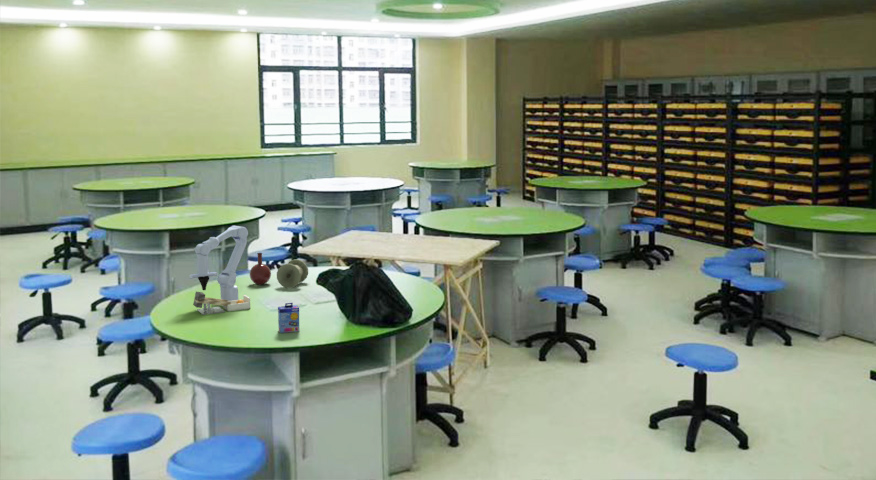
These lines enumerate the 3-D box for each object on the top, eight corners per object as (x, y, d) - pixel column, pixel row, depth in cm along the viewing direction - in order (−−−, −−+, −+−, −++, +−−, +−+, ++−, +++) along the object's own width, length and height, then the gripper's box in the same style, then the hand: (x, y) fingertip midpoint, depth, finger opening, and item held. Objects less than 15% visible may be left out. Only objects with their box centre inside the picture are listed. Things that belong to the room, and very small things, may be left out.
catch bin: (245, 305, 425) (244, 294, 424) (250, 308, 417) (249, 297, 416) (223, 307, 419) (222, 297, 418) (227, 311, 410) (227, 300, 409)
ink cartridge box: (280, 333, 368) (279, 304, 365) (277, 330, 373) (277, 301, 371) (300, 331, 371) (299, 302, 369) (297, 328, 376) (297, 300, 374)
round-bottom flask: (268, 286, 472) (267, 255, 469) (247, 286, 473) (246, 255, 470) (273, 282, 485) (272, 251, 482) (253, 282, 486) (251, 251, 483)
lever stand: (219, 307, 419) (218, 297, 418) (224, 312, 408) (224, 302, 408) (196, 310, 412) (196, 300, 412) (202, 315, 402) (201, 304, 401)
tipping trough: (196, 307, 403) (198, 293, 403) (190, 302, 413) (193, 289, 412) (229, 311, 412) (231, 297, 412) (223, 306, 422) (226, 293, 422)
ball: (237, 298, 419) (234, 305, 419) (239, 299, 416) (236, 306, 415) (243, 300, 421) (241, 306, 421) (245, 301, 418) (243, 308, 418)
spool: (285, 282, 487) (285, 259, 484) (308, 282, 485) (307, 259, 482) (277, 287, 470) (276, 263, 468) (300, 288, 468) (299, 264, 466)
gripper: (191, 268, 411) (192, 292, 413) (218, 265, 418) (219, 289, 420) (188, 266, 417) (189, 290, 419) (214, 263, 424) (215, 287, 426)
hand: (204, 289), depth 420 cm, fingers closed
